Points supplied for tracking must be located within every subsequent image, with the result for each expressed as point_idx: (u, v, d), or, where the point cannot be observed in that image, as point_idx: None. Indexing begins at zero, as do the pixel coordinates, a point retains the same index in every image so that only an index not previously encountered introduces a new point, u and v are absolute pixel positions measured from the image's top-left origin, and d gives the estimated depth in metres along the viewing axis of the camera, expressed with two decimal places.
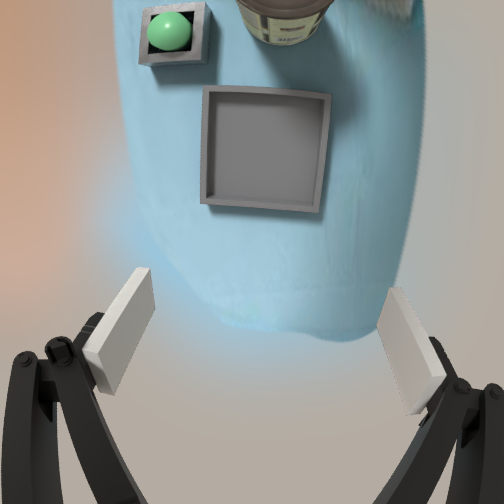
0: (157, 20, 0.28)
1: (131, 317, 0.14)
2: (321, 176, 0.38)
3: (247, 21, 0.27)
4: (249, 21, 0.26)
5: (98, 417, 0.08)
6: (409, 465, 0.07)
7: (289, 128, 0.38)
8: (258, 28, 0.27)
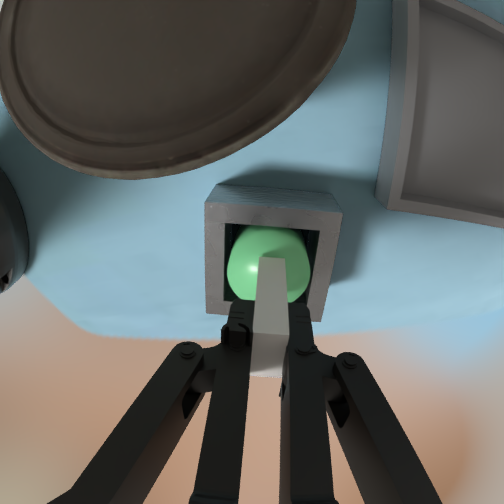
0: (244, 290, 0.19)
1: None
2: None
3: None
4: None
5: (245, 411, 0.09)
6: (289, 448, 0.08)
7: (457, 67, 0.15)
8: None
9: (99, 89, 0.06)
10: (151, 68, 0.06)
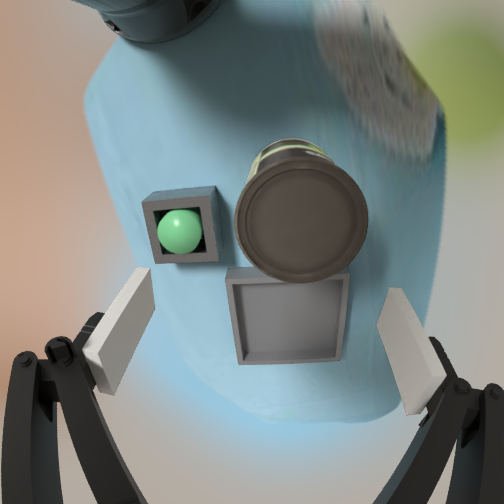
0: (165, 223, 0.34)
1: (131, 317, 0.14)
2: (341, 337, 0.42)
3: None
4: None
5: (98, 417, 0.08)
6: (409, 465, 0.07)
7: (310, 299, 0.42)
8: None
9: (264, 216, 0.23)
10: (271, 233, 0.24)
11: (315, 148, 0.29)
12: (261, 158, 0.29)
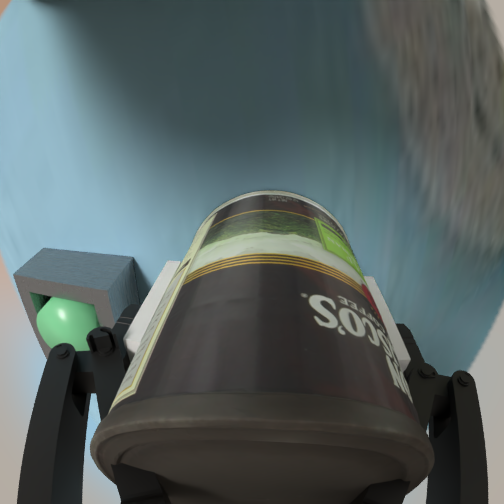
0: (45, 318, 0.17)
1: None
2: None
3: None
4: None
5: None
6: None
7: None
8: None
9: (164, 478, 0.07)
10: (183, 495, 0.07)
11: (330, 241, 0.13)
12: (197, 258, 0.12)
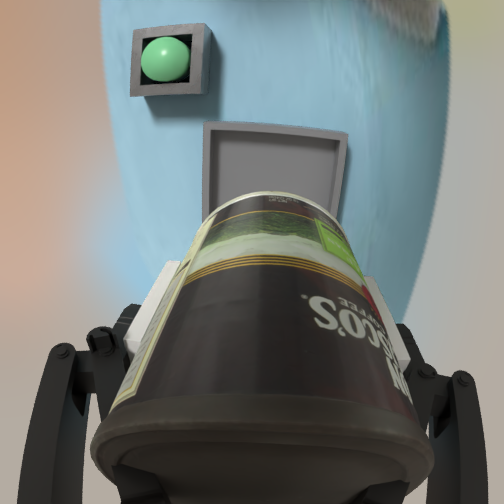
0: (152, 47, 0.26)
1: None
2: None
3: None
4: None
5: None
6: None
7: (299, 170, 0.35)
8: None
9: (164, 479, 0.07)
10: (183, 496, 0.07)
11: (330, 242, 0.13)
12: (197, 259, 0.12)
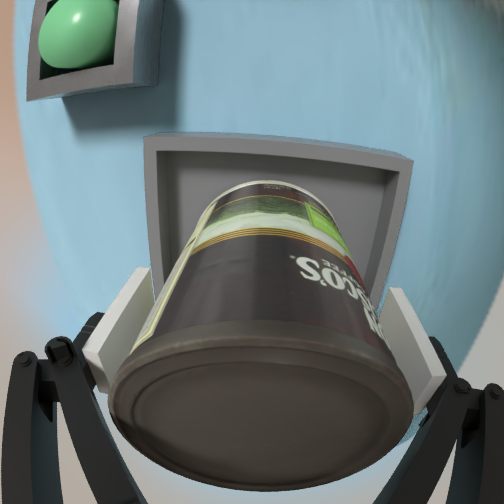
0: (55, 12, 0.11)
1: (131, 317, 0.14)
2: None
3: None
4: None
5: (98, 417, 0.08)
6: (409, 465, 0.07)
7: None
8: None
9: (173, 423, 0.09)
10: (189, 445, 0.09)
11: (318, 220, 0.15)
12: (201, 235, 0.14)
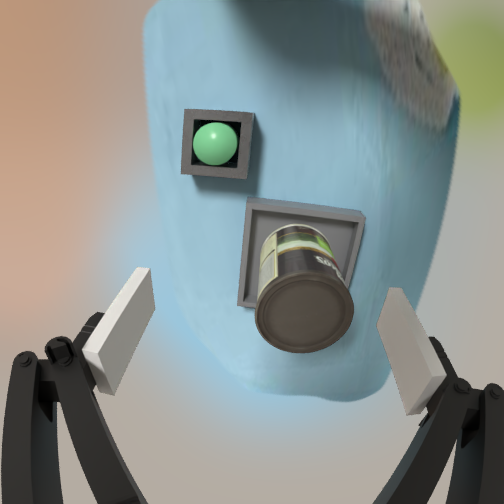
0: (204, 131, 0.34)
1: (131, 317, 0.14)
2: (346, 287, 0.43)
3: None
4: None
5: (98, 417, 0.08)
6: (409, 465, 0.07)
7: None
8: None
9: (279, 307, 0.31)
10: (280, 319, 0.32)
11: (321, 244, 0.38)
12: (278, 248, 0.37)
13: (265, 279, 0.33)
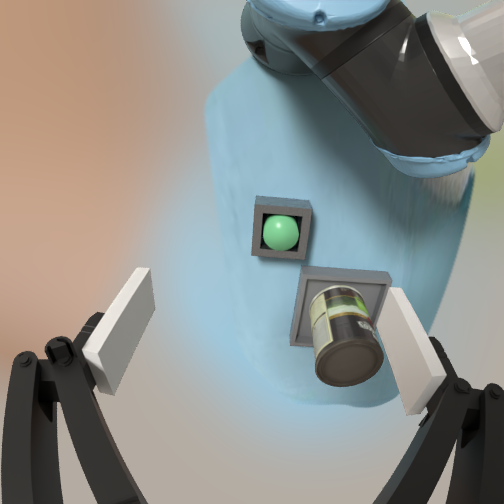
0: (272, 225, 0.44)
1: (131, 317, 0.14)
2: (374, 328, 0.53)
3: None
4: None
5: (98, 417, 0.08)
6: (409, 465, 0.07)
7: None
8: None
9: (332, 360, 0.41)
10: (333, 367, 0.42)
11: (359, 305, 0.47)
12: (328, 312, 0.47)
13: (322, 340, 0.43)
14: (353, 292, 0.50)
